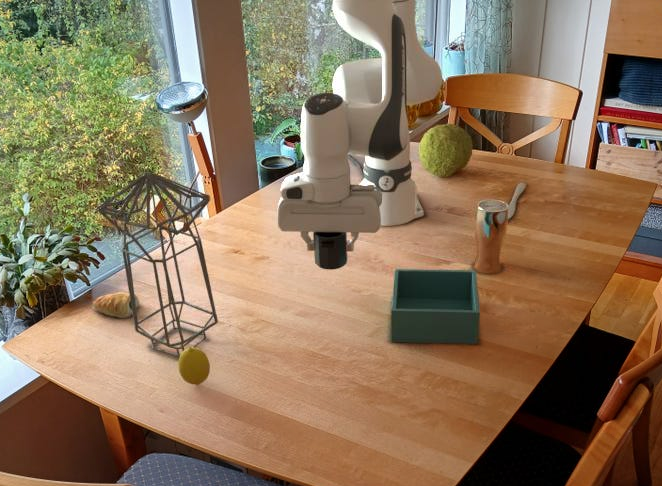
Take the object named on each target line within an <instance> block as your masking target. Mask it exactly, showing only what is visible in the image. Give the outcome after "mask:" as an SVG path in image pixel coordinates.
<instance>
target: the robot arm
mask: <svg viewBox="0 0 662 486" xmlns="http://www.w3.org/2000/svg"><path fill="white" fill-rule="evenodd" d="M332 11H333V14H334V16H335V20H336V21H337V23H338V25H339V26H340V27H341V28H342V29H343V31H345V32H346V33H347V34H349V36H351V37H352V38H354V39H356V40H358V41H360V42H362V43H363V44H366V45H367V46H370V47H372V48H373V49H375V50H377V51H378V52H379V53H380V56H381V57H374V58H360V59H356V60H352V61H349V62H346V63H343V64H340V65H339V66H338V67H337V69H336V70H335V73H334V75H333V79H332V90H333V91H332V92H320V93H316V94H314V95H311V96H309V97H308V98H306V99H305V100H304V102H303V105H302V109H301V121H300V144H301V151H302V154H303V157H304V163H303V167H302V171H301V172H298V173H296V174H293V175H289V176H287V177H285V179H284V181H283V182H282V184H281V187H280V199H279V201H278V205H277V211H276V222H277V223H276V225H277V228H278V229H279V230H280V231H281V232H284V233H285V232H287V233H288V232H291V233H293V232H294V233H295V232H296V233H300V237H301V238H302V240H303V241H304V243H305V244H306V247H307V248H306V249H307V251H308V252H314V239H312V238H311V236H310V235H309V233H313V232H347V233H350V237H351V239H347V242H346V251H347V253H348V252H354V249H355V243H356V242H357V240H358V238H359V235H360V233H363V234H364V233H365V234H369V233H370V234H376V233H377V232H378V231H379V230H380V229H381V227H389V226H390V227H392V226H400V225H403V224H406V223H410V222H411V221H413V220H414V219H418V218H421V217H424V216H425V211H424V209H423V207H422V204H421V203H420V200H419V197H418V195H417V193H418V192H417V191H418V190H417V189H418V188H417V187H418V185H417V184H416V183H415V181H414V180H413V179H412V170H413V168H412V161H411V158H410V157H411V132H410V131H409V120H408V119H409V118H408V106H415V105H419V104H423V103H426V102H429V101H433V100H434V99H435V98H436V97H437V96H438V95H439V93H440V91H441V88H442V84H443V73H442V69H441V66H440V64H439V63H438V62H437V60H436V59H435V58H434V57H432V55H430V54H429V53H428V52H426V50H425V49H424V47H423V46H422V45H421V43H420V41H419V37H418V35H417V30H416V0H332ZM353 156H360V157H364V158H365V161H364V162H363V167H362V166H361V164H360V162H358V161H357V159H355V158H354V157H353ZM349 159H350V160H351V161H352V162H353V163H354V165H356V166H357V168H358V169H359V172H360V175H361V177H362V179H363V180H362V181H361V182H360V183H359V184H351V166H350V165H351V164H350V162H349Z"/></svg>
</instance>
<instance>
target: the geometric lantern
mask: <svg viewBox="0 0 662 486" xmlns="http://www.w3.org/2000/svg"><path fill="white" fill-rule="evenodd" d="M129 190H130V191H129ZM128 191H129V192H128ZM154 191H155V193H156V195H157V197H158V199H159V201H160V203H161V204H162V206H163V208H164V210H165V212H166V214H167V217H168V218H167V219H165V220H163V221H160V222H159V220H158V214H157V206H156V200H155V199H156V198H155V194H154ZM170 191H172V192H174V193H176V194H177V195H178V196H179V197H178V198H179V201H178V200H177V198H176V197H175V196H173V194H172V193H171V192H170ZM126 192H128V194H127V195H125V197H124V198H123V199H120V200H117V198H119V197H120V196H122V195H123V194H125V193H126ZM144 192H145V195H144V197H143V199H142V201H141V204H140V205H139V204H138V200H139V198H140V196H141V195H142V194H143V193H144ZM161 192H162V193H163V194H164V195H165V196H166V197H167V198H168V199H169V201H171V202H172V203H173V204H174V205H175V206H176V207H175V209H174V210H173V212H172V213H171V211H170V209H169V207H168V205H167V204H166V202H165V200H164V198H163V196H162V194H161ZM182 196H184V197H185V198H187V199H188V200H189V207H188V206H185V205H183V204H182ZM151 197H152V203H153V211H154V218H153V217H152V216H151ZM133 198H134V199H133ZM192 198H199V199H201V200H200V201H198V202H197V203H196V204H194V205H193V206H192ZM132 199H133V201H132ZM115 200H116V201H115ZM131 201H132V203H131V207H130V208H129V211H127V210H126V208H127V207H128V205H130V202H131ZM210 201H211V195H210V194H206V193H204V192H201V191H198V190H196V189H194V188H191V187H189V186H186V185H184V184H182V183H179V182H177V181H173V180H171V179H169V178H166V177H163V176H161V175H159V174H157V173H153V172H143V175H140V176H139V177H138V178H136V179H135V180H133V181H132V182H131V183H129V184H128V185H127V186H124V187H123V188H122V189H120V190H119V191H117V192H116V193H115V194H114V195H112V196H111V197H109V198H108V199H106V200H105V201H104V202H102V203H100V204H99V205H97V207H95V209H94V211H93V214H95V215H96V214H97V213H99V214H100V215H101V216H102V217H103V218H105V219H106V220H107V221H108V222H109V223H110V224H112V226H113V227H114V228H116V230H117V234H118V235H119V236H121V235H123V240H122V241H123V244H122V246H123V247H122V248H120V252H122V258H123V265H124V270H125V275H126V282H127V288H128V294H130V301H131V307H132V318H133V324H134V331H135V333H137V334H139V335H141V336H143V337H145V338H147V339H148V340H150V341H151V348H152V350H155V351H158V352H161V353H164V354H167V355H170V356H174V357H176V358H179V357H180V355H181V353H180V350H181V349H182V352H183V351H184V350H185V347H186V346H187V345H189V344H190V343H191V342H193V341H194V340H196V338H198V337H200V336H203V338H202V339H201V340H198V342H196V343H195V344H194V345H193V346H192V347H195V348H197V347H198V346H199V345H200V344H201V343H203V342H204V341H205V340H206V339H207V335H206V331H208V330H210V328H212V327H214V326H215V325H218V323H219V319H218V314H217V311H216V306H215V301H214V296H213V293H212V287H211V282H210V277H209V271H208V268H207V263H206V258H205V253H204V248H203V242H202V239H201V236H200V234H199V231H198V227H197V225H196V222H195V220H196V219H197V218H198V216H199V215H200V214H201V213H202V212H203V210H204V209H205V208H206V207H207V205H209V203H210ZM120 204H122V207H121V208H120V209H116V208H110V207H112V206H116V205H120ZM145 205H146V208H145V209H146V211H145V210H144V206H145ZM178 211H180V212H181V213H182V214H181V215H178V216H177V215H176V214H177V213H178ZM195 211H196V212H195ZM140 212H143V214H145V215H146V224H144V223H138V222H133V221H130V220H131V217H132V215H134V214H137V213H140ZM194 212H195V214H194V215H193V213H194ZM122 215H123V217H122ZM109 216H112V217H114V219H112V218H111V217H109ZM188 216H190V218H191V219H190V220H188V219H189V218H188ZM182 219H184V220H185V224H186V225H183V227H181V228H179V229H177V228H176V224H175V222H176V221H179V220H182ZM117 220H120V221H122V222H123V228H122V227H121V226H120V225H118V221H117ZM151 220H152V221H153V222H154V223H155V225H156V226H153V227H151ZM166 224H167V226H165V225H166ZM192 224H193V227H194V230H195V232H196V235H195V233H193V230H192V228H191V227H190V226H192ZM127 225H128V226H133V227H139V229H138V230H136V231H134V232H130V231H129V228H128V226H127ZM171 225H172V227H173V228H172V227H171ZM147 230H149V231H147ZM157 230H158V232H159V233H158V235H159V242H160V249H161V258H159V259H157V258H156V259H155V258H153V257H152V255H151V254H149V252H148V251H147V250H146V249H145V248H144V246H143V245H142V244H141V243H140V242H139V239H142V238H144V237H145V236H148V235H150V234H151V233H154V232H155V231H157ZM185 230H187V231H188V232H184V231H185ZM144 231H146V232H145V233H143V232H144ZM163 231H167V232H168V238H169V243H168V245H167V246H166V249H165V244H164V237H163ZM141 233H143V234H141ZM180 234H182V235H185V236H187V237H191V238H192V240H193V242H194V243H193V244H191V245H190V246H189V245H188V246H187V247H186V248H184V249H181V250H180V251H178V252H176V250H175V245H174V244H175V243H174V238H175V236H178V235H180ZM137 235H139V236H137ZM127 236H128V238H131V240H129V241H127ZM135 236H137V237H135ZM133 242H134V243H135V244H136V245H137V247H138V248H139V249H140V250H141V251H142V252H143V254H144V255H145V256H146V257H144V256H142V255H139V254H136V253H134V252H130V250H129V245H130V244H132V243H133ZM194 247H196V251H197V255H198V259H199V263H200V267H201V271H202V275H203V279H204V283H205V287H206V291H207V295H208V300H209V303H210V307H211V311H210V310H208V309H206V308H203V307H200V306H198V305H195V304H192V303H190V302H188V301H186V299H185V294H184V289H183V285H182V280H181V279H182V278H181V274H180V270H179V265H178V264H179V263H178V259H177V256H179V255H181V254H183V253H185V252H186V251H188V250H190V249H192V248H194ZM169 248H171V253H172V255H171V256H169V257H167V258H166V255H167V253H168V251H169V250H170V249H169ZM130 255H131V256H133V257H135V258H138V259H141V260H143V261H146V262H149V263H152V266H153V271H154V277H155V278H154V279H155V283H156V289H157V296H158V302H159V308H158V309H157V310H155V311H153V312H152V313H150V314H148V315H147V316H145V317H142V319H140V320H139V318H138V311H137V307H136V302H135V295H136V294H135V288H134V279H133V273H132V272H133V271H132V264H131V256H130ZM171 259H173V263H174V268H175V272H176V277H177V282H178V286H179V287H178V288H179V292H180V297H181V300H178V301H175V298H174V293H173V289H172V285H171V280H170V275H169V271H168V266H167V265H168V264H167V261H170V260H171ZM157 263H160V264H161V263H162V267H163V271H164V277H165V282H166V283H165V284H166V292H167V298H168V299H167V300H168V303H166V304H165V305H164V303H163V297H162V290H161V285H160V279H159V274H158V268H157ZM134 294H135V295H134ZM177 305H180V307H179V312H178V310H177ZM184 305H186V306H188V307H191V308H193V309H196V310H199V311H200V312H203V313H206V314H209V315H211V316H210V317H209V319H208V320H207V321H206V323H205V325H203V326H202V325H199V324H195V323H192V322H190V321H186V320H182V319H180V318H181V315H182V312H183V311H182V310H183V307H184ZM167 308H169V312H170V315H171V318H172V319H171V320H170V321H168V323H167V320H166V314H165V309H167ZM159 313H161V319H162V325H163V326H162V327H161V328H160V329H158V330H157V331H155V332H154V333H153V334H150V333H148V332H147V331H146V330H145V329H144V328H142V327H141V326H140V324H142V323H143V322H145V321H147V320H148V319H150V318H152V317H153V316H155V315H157V314H159ZM212 319H213V322H211V321H212ZM175 322H176V323H175ZM210 322H211V323H210ZM181 323H184V324H187V325H190V326H193V327H196V328H200V330H199V331H195V330H192V329H188V328H185V327H182V326H181ZM209 323H210V324H209ZM171 324H172V329H170V330H169V331H168V326H170V325H171ZM176 326H177V327H176ZM176 330H177V331H178V334H179V339H180V341H178V342H174V343H170V337H169V335H170V334H171V333H173V332H174V331H176ZM161 331H164V335H162V336H160V338H157V337H155V336H156V335H157V334H159V333H160V332H161ZM183 331H185V332H190V333H193V334H192V335H190V336H189V337H187V338H185V339H184V334H183ZM164 338H165V341H164V340H163V339H164ZM157 343H159V344H161V345H163V346H165V347H167V348H169V349H174V350H176V354H175V353H172V352H170V351H166V350H164V349H161V348H158V347H155V346H156V344H157Z"/></svg>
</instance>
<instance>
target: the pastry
mask: <svg viewBox="0 0 662 486" xmlns="http://www.w3.org/2000/svg"><path fill="white" fill-rule="evenodd" d="M134 295H135V302H136V308H137V307H139V305H140V299H139V297H138V295H137V294H135V293H134ZM92 306H93V308H94V309H95V310H96V311H97V312H99V313H101V314H105V315H106V316H109V317H115V318H116V317H118V318H119V319H120V318H122V319H123V318H128V317H131V316H132V315H133V313H132V307H131V301H130V294H129V292H122V291H118V292H116V293H108V294H105V295H101V296H99V297H98V298H96V299H95V300H93V301H92Z"/></svg>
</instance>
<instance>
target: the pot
mask: <svg viewBox="0 0 662 486" xmlns="http://www.w3.org/2000/svg"><path fill="white" fill-rule="evenodd" d="M347 233H348V232H312V235H313V240H314V251H313V252H314V254H313V255H314V264H315V265H316V266H317V267H318V268H319V269H323V270H329V271H330V270H331V271H333V270H337V269H341V268H343V267H344V266H346V265H347V263H348V252H347V251H346V242H347V240H348V236H347V235H348V234H347Z"/></svg>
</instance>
